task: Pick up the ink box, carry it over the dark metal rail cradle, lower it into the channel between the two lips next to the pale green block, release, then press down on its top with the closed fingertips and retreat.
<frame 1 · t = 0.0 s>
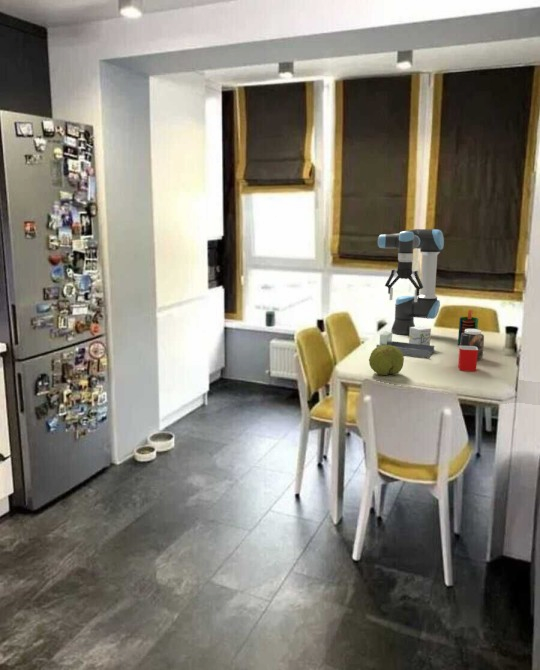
hand: (403, 300, 311), 28 cm above the table, fingers open, 13 cm apart
ink box: (419, 348, 325), on the table
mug: (466, 368, 283), on the table
rail cradle: (404, 352, 315), on the table
jar: (470, 358, 301), on the table
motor: (467, 345, 332), on the table
fruit: (385, 374, 272), on the table
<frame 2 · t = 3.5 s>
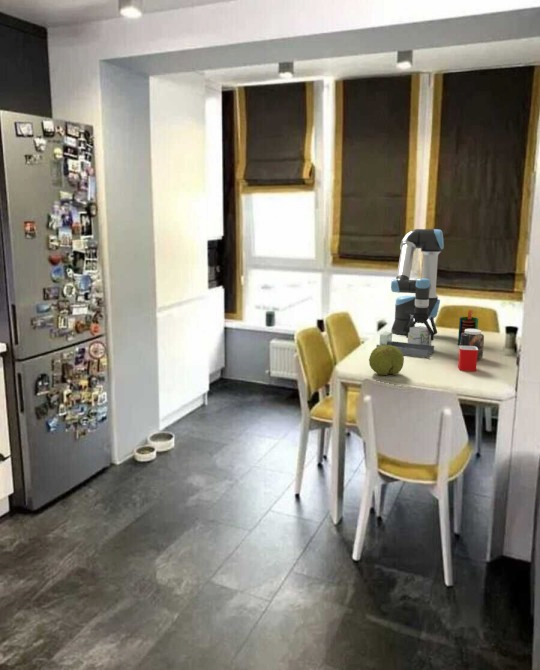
hand: (419, 344, 324), 2 cm above the table, fingers closed on ink box, 11 cm apart
ink box: (419, 348, 325), on the table, touching gripper
everything else where it was.
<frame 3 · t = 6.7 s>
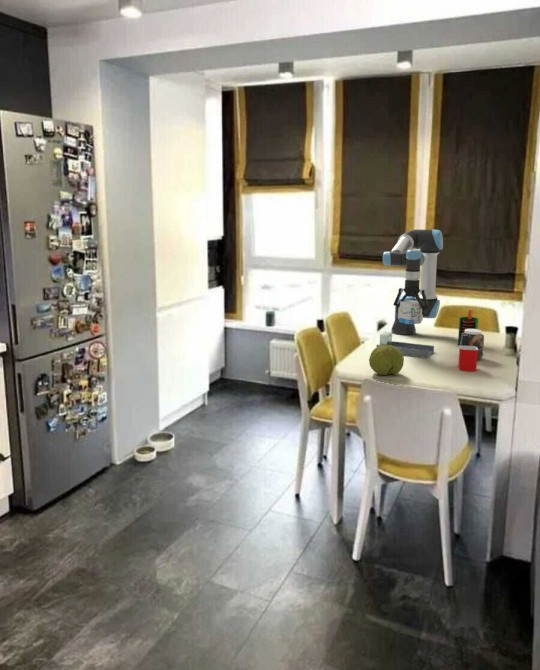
hand: (410, 319, 310), 18 cm above the table, fingers closed on ink box, 11 cm apart
ink box: (410, 323, 310), point 16 cm above the table, touching gripper
everything else where it was.
when the fingers open (5 cm above the table, at t = 10.0 s): ink box stays where it is, resting on rail cradle.
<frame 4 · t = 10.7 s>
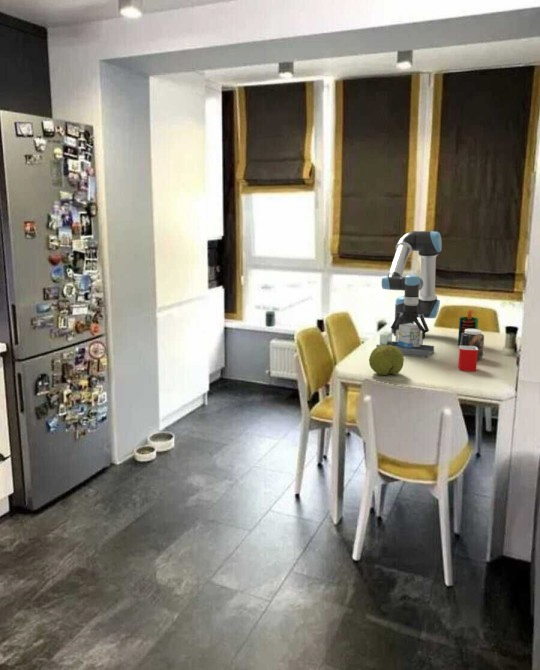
hand: (408, 343, 312), 5 cm above the table, fingers open, 13 cm apart
ink box: (408, 346, 313), point 4 cm above the table, touching rail cradle
everything else where it was.
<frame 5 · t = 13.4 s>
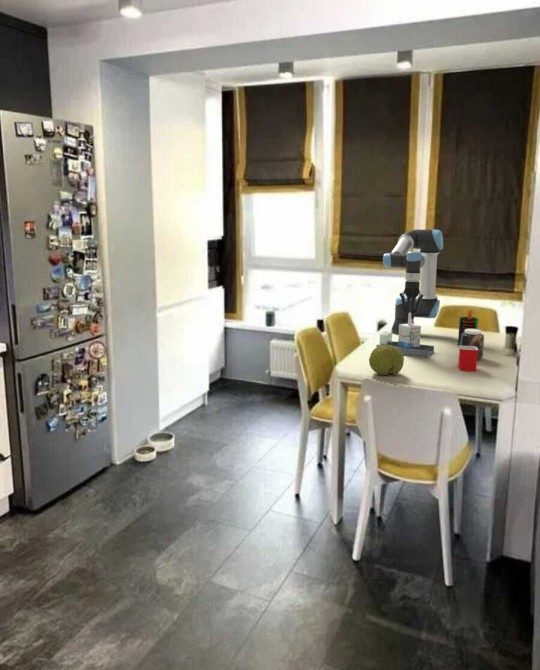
hand: (409, 324, 310), 16 cm above the table, fingers closed
ink box: (408, 346, 313), point 3 cm above the table, touching gripper, rail cradle
everything else where it was.
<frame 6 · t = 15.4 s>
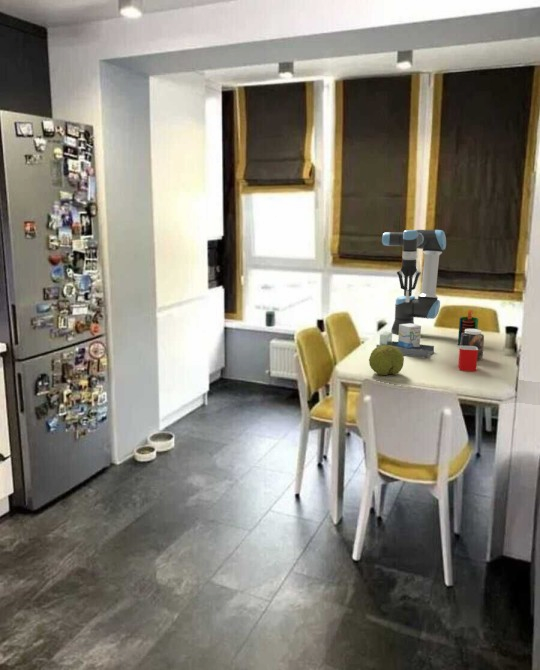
hand: (407, 301, 317), 26 cm above the table, fingers closed
ink box: (408, 346, 313), point 4 cm above the table, touching rail cradle
everything else where it was.
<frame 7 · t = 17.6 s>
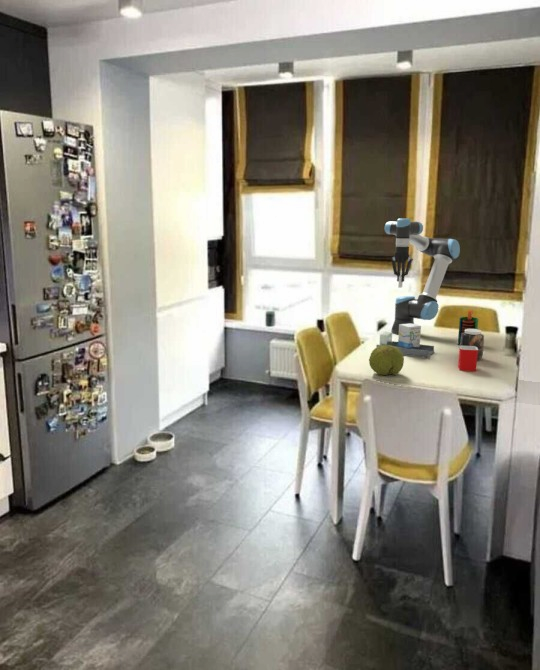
hand: (400, 287, 332), 32 cm above the table, fingers closed
nothing on the table moved.
at the end: ink box inside the target area on the rail cradle (0.1 cm from its centre), point 3.5 cm above the rail cradle's base; ink box tilted 0°; the gripper is holding nothing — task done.
